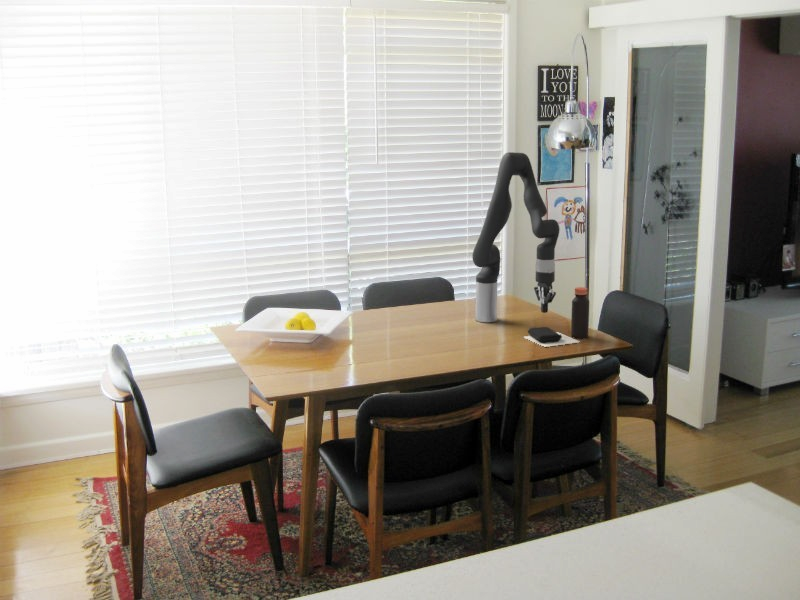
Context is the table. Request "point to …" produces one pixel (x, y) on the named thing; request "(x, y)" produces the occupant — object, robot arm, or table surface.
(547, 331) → the carrying case or bag
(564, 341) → the cream paper sheet
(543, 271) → the robot arm
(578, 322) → the bottle
